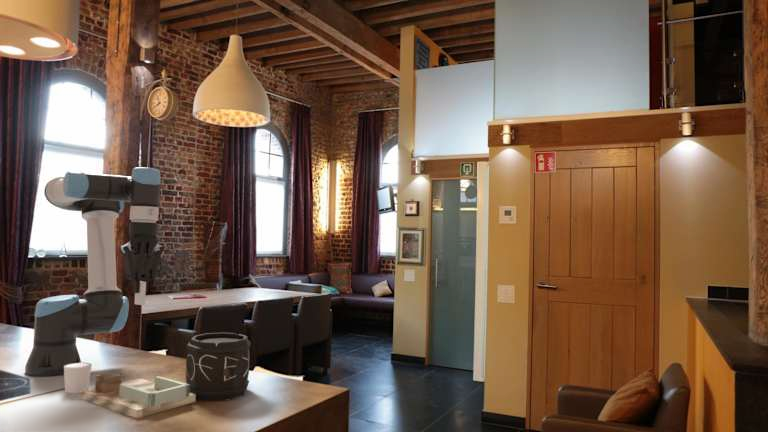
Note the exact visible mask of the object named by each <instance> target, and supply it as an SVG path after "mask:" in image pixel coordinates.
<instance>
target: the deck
mask: <svg viewBox="0 0 768 432" xmlns="http://www.w3.org/2000/svg"><path fill="white" fill-rule="evenodd" d="M121 384H126V385H130V386H133V387H136V388H140V389H143V390H146V391H150V392H156V391H160V389H157V388H154V385H155V381H150V380H146V379H143V378H135V379H132V380H131V379H130V380H126V381H121ZM80 397H81V398H80V399H81V400H84V401H87V402H88V403H89V402H90V403H93V404H95V405H98V406H100V407H104V408H106V409H109V410H112V411H115V412H117V413H121V414H124V415H126V416H129V417H132V418H135V419H140V418H144V417H147V416H148V417H149V416H150V415H155V414H157V413H160V412H165V411H168V410H172V409H175V408H179V407H182V406H185V405H188V404H193V403H195V402H196V401H197V400H196V394H193V393H190V396H188V397H184V398H180V399H177V400H173V401H169V402H166V403H162V404H158V405H155V406H151V407H150V406H147V405H144V404H141V403H138V402H135V401H132V400H129V399H126V398H123V397H120V396H119V390H118V391H114V392H109V393H105V394H104V393H101V392H98V391H95V387H94V388H89V389H88V390H85V391H82V392H81V396H80Z"/></svg>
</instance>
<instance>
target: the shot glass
mask: <svg viewBox="0 0 768 432" xmlns="http://www.w3.org/2000/svg"><path fill="white" fill-rule="evenodd" d="M91 371H92V363H91V362H81V363H72V364H67V365H65V366H64V374H63V378H64V392H65V393H68V394H77V393H82V391H85V390H89V386H90V379H91V378H90V377H91Z"/></svg>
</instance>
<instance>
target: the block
mask: <svg viewBox="0 0 768 432" xmlns="http://www.w3.org/2000/svg"><path fill="white" fill-rule="evenodd" d="M121 382H122V374H120V373H116V372H112V371H111V372H107V373H102V374H96V375H95V387H94V388H95V391H98V392H101V393H104V394H105V393H109V392H114V391H118V390H119V389H120V385H121Z"/></svg>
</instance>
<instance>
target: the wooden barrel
mask: <svg viewBox="0 0 768 432" xmlns="http://www.w3.org/2000/svg"><path fill="white" fill-rule="evenodd" d="M250 347H251V341H250V340H249V338H248V336H247V335H245V334H241V333H238V334H237V332H236V333H235V332H234V333H233V332H207V333H202V334H197V335H193V337H192V338H191V339H190V341H189V342H188V344H186V348H185V349H187V355H186V362H185V383H186V384H190V393H193V394H196V400H195V401H205V400H209V401H208V402H218V401H219V400H220V401H228V400H227V399H230V400H233V398H234V399H236V398H235V397H237V398H239V397H242V396H244V395H245V392H246V390H248V387H249V382H250V380H248V379H249V373H250V357H251V354H250V353H251V352H250ZM241 395H242V396H241ZM238 396H239V397H238ZM220 401H219V402H220Z"/></svg>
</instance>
